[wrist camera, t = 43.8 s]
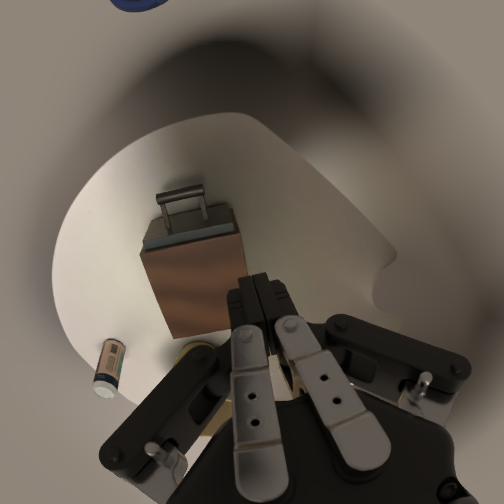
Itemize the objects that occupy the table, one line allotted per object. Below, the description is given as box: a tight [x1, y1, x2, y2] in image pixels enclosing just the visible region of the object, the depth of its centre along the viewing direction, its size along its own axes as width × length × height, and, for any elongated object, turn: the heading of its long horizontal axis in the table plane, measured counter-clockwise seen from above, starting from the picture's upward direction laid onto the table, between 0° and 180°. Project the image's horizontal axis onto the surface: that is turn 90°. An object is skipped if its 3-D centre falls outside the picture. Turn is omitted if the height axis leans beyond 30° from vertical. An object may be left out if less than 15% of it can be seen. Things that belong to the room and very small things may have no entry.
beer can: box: [93, 340, 125, 399], centre depth 45 cm, size 5×5×12 cm
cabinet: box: [140, 209, 248, 339], centre depth 40 cm, size 15×13×9 cm
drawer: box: [143, 184, 234, 250], centre depth 38 cm, size 18×11×7 cm, turn 8°
